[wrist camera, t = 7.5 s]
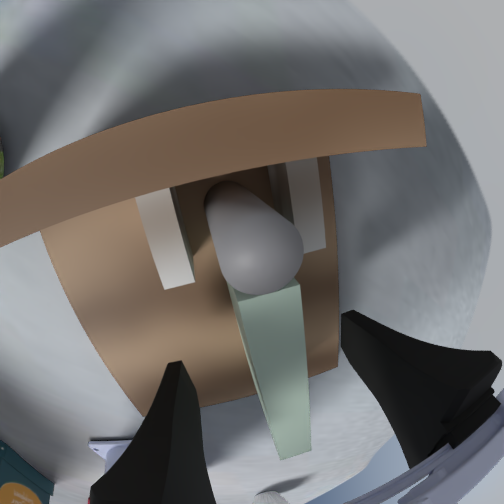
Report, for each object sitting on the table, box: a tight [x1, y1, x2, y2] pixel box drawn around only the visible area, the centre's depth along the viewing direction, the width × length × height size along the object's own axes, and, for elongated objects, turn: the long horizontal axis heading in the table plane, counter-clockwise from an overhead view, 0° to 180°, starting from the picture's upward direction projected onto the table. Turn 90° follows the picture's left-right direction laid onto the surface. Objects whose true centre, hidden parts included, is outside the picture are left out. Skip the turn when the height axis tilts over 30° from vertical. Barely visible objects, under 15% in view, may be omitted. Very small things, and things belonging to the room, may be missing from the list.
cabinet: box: [0, 89, 427, 417], centre depth 11 cm, size 16×14×7 cm
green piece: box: [204, 181, 311, 460], centre depth 11 cm, size 12×2×6 cm, turn 10°
